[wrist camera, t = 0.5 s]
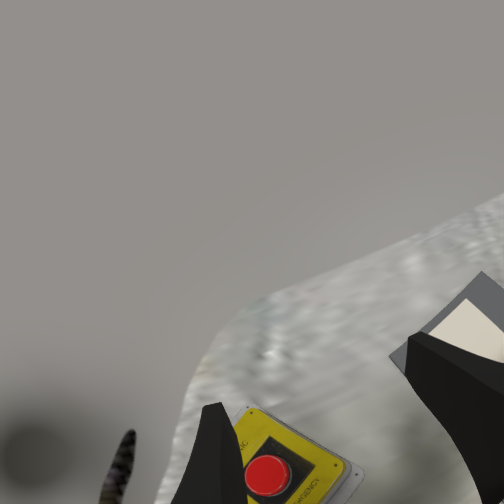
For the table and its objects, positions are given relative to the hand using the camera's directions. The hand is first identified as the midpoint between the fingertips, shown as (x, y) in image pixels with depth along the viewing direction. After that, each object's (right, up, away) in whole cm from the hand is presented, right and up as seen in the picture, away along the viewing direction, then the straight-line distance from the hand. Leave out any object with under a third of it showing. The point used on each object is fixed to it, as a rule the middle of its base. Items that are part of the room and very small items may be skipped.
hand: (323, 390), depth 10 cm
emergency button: (0, -16, +14) cm, 21 cm away
